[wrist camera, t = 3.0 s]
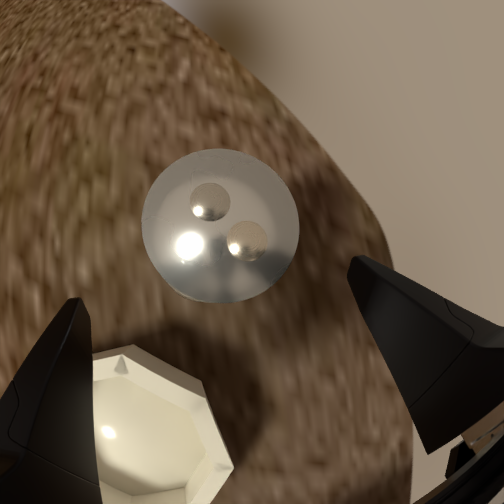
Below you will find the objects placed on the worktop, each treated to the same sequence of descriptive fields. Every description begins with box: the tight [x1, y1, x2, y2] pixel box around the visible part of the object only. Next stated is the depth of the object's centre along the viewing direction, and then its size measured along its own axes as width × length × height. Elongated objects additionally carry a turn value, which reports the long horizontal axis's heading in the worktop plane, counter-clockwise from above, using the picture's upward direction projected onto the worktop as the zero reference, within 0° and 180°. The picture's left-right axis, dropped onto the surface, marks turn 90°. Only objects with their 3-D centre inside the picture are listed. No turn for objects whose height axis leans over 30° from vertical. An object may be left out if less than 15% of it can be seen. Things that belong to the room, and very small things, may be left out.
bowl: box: [92, 344, 234, 504], centre depth 13 cm, size 11×11×4 cm
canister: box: [142, 149, 299, 303], centre depth 13 cm, size 4×4×10 cm
